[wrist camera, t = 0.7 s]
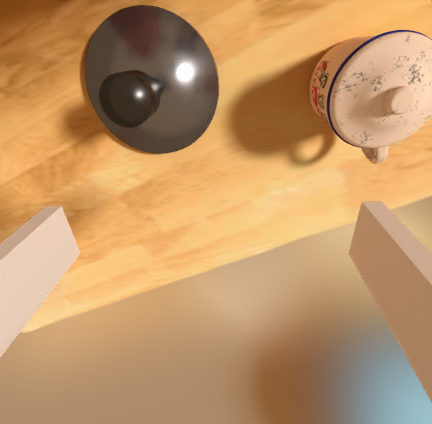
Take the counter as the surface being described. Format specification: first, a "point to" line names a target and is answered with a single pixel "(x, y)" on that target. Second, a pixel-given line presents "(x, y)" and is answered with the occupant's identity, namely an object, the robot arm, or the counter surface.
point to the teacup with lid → (375, 89)
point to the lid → (151, 79)
